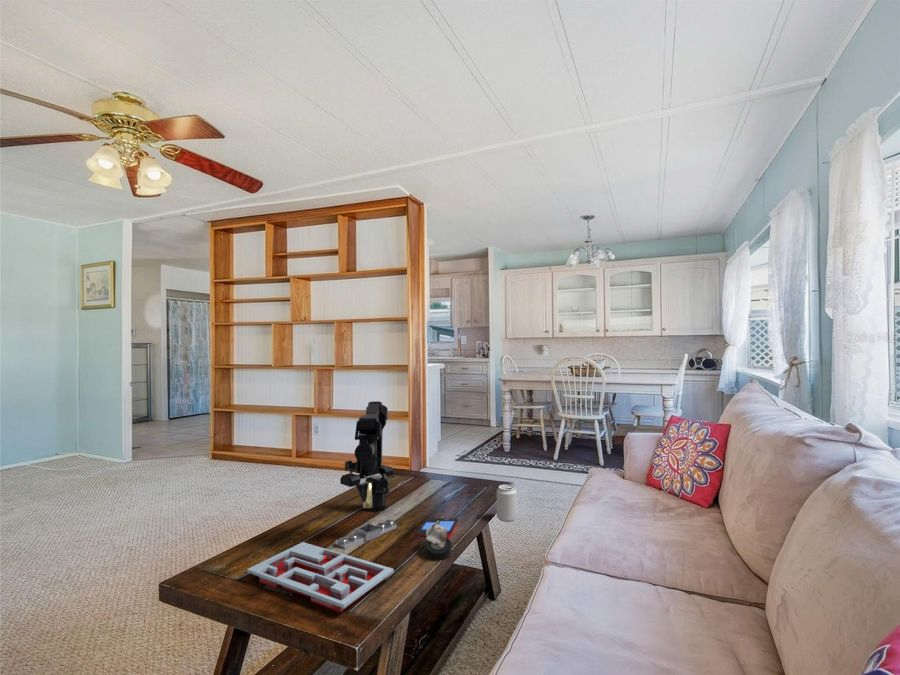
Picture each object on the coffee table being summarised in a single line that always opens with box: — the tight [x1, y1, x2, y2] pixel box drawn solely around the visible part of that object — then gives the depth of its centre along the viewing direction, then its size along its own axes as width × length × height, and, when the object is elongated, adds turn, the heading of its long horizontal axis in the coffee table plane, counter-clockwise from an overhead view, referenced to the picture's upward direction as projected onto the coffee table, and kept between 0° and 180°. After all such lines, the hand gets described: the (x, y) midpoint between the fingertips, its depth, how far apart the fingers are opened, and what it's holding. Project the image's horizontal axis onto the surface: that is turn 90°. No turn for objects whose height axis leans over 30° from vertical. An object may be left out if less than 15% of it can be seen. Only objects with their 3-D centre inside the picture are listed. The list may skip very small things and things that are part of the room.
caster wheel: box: [424, 520, 453, 561], centre depth 138 cm, size 7×11×10 cm
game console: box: [414, 517, 459, 539], centre depth 155 cm, size 14×13×2 cm
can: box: [496, 484, 518, 523], centre depth 165 cm, size 8×8×12 cm
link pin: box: [362, 481, 372, 509], centre depth 150 cm, size 3×3×8 cm
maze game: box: [246, 541, 395, 613], centre depth 121 cm, size 35×20×3 cm, turn 61°
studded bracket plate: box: [335, 519, 398, 550], centre depth 149 cm, size 23×6×2 cm, turn 139°
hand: (367, 500), depth 150 cm, fingers closed on link pin, 3 cm apart
